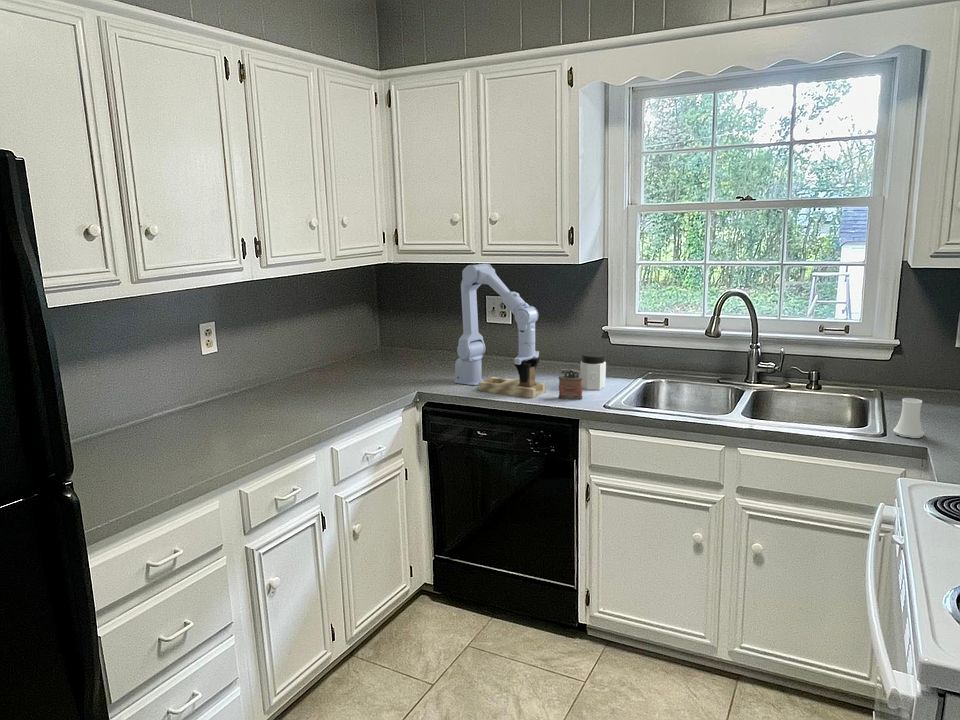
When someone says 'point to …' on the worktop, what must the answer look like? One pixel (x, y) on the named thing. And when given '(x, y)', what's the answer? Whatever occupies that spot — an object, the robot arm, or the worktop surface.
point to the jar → (593, 370)
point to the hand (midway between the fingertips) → (527, 380)
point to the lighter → (570, 385)
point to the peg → (529, 378)
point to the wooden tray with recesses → (510, 387)
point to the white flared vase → (910, 418)
